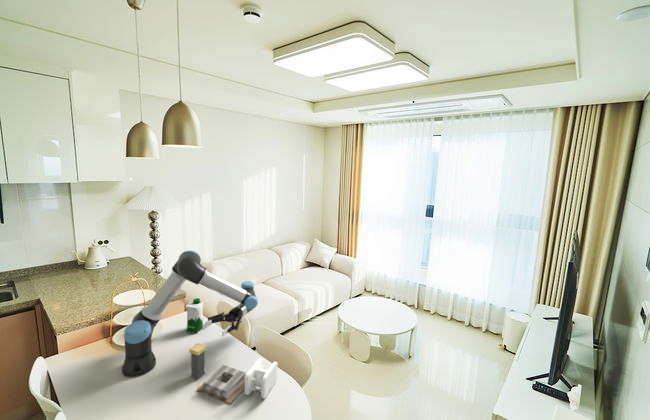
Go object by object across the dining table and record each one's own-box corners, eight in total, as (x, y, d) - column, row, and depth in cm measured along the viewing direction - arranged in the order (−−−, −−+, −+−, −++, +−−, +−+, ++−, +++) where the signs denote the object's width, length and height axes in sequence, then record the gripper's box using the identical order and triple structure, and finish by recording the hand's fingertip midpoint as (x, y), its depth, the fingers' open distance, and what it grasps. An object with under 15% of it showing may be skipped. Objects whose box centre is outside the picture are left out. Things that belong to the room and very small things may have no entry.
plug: (189, 377, 149) (189, 348, 147) (198, 370, 155) (197, 342, 152) (198, 381, 147) (197, 351, 145) (206, 373, 153) (206, 345, 150)
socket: (196, 390, 141) (196, 381, 140) (219, 370, 156) (219, 361, 155) (230, 404, 134) (230, 395, 133) (251, 381, 149) (251, 373, 148)
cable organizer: (263, 403, 136) (264, 380, 134) (243, 397, 139) (243, 375, 137) (277, 381, 150) (278, 360, 149) (258, 376, 153) (259, 355, 151)
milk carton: (205, 327, 195) (204, 298, 192) (196, 334, 186) (196, 305, 183) (192, 325, 196) (192, 297, 193) (184, 332, 187) (183, 303, 184)
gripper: (255, 323, 173) (231, 343, 153) (221, 314, 182) (194, 331, 162) (255, 311, 172) (231, 329, 152) (220, 302, 181) (194, 319, 161)
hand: (212, 330), depth 157 cm, fingers open, 13 cm apart
